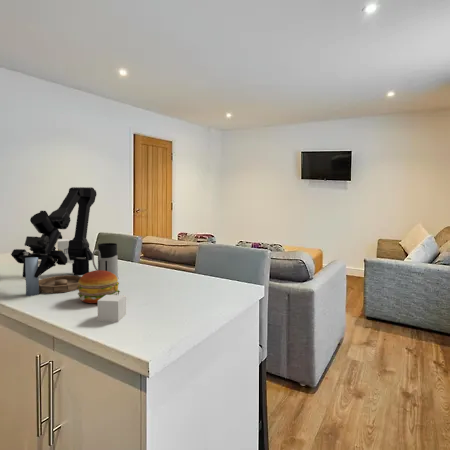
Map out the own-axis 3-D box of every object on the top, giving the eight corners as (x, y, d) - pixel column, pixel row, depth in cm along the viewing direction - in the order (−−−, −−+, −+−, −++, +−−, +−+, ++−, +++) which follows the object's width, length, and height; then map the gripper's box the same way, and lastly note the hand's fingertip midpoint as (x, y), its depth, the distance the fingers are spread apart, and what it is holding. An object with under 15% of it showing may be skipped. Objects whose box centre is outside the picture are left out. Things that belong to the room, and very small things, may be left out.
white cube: (97, 321, 98) (97, 300, 97) (106, 314, 104) (106, 294, 103) (118, 322, 97) (118, 301, 97) (126, 315, 103) (125, 295, 103)
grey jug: (122, 278, 149) (122, 243, 147) (102, 286, 135) (102, 248, 134) (105, 276, 151) (104, 242, 150) (83, 284, 137) (83, 246, 136)
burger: (71, 299, 118) (70, 270, 117) (108, 292, 127) (108, 265, 126) (87, 308, 108) (87, 277, 107) (127, 300, 118) (126, 271, 117)
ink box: (58, 260, 185) (57, 238, 185) (75, 259, 189) (74, 238, 188) (57, 263, 178) (57, 240, 177) (75, 262, 181) (75, 240, 180)
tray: (84, 280, 144) (84, 274, 144) (86, 290, 128) (86, 283, 128) (37, 283, 137) (37, 277, 137) (33, 295, 121) (33, 288, 121)
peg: (39, 292, 125) (38, 256, 124) (38, 295, 122) (37, 258, 121) (26, 293, 124) (25, 257, 123) (25, 296, 120) (24, 259, 119)
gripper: (13, 227, 125) (-9, 262, 115) (62, 228, 124) (44, 264, 114) (28, 245, 134) (9, 280, 124) (74, 247, 132) (58, 282, 122)
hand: (29, 276), depth 121 cm, fingers closed on peg, 4 cm apart
